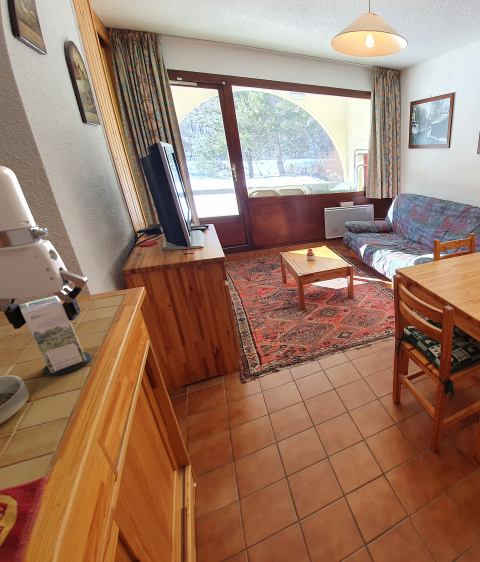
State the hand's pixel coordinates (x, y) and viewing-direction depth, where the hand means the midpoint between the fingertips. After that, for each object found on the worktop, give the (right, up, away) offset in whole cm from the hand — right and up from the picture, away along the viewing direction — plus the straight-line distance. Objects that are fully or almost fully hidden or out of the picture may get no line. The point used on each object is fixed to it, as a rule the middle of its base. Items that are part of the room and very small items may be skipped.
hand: (48, 321), depth 63 cm
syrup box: (0, -10, +4) cm, 11 cm away
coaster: (0, -10, +4) cm, 11 cm away
